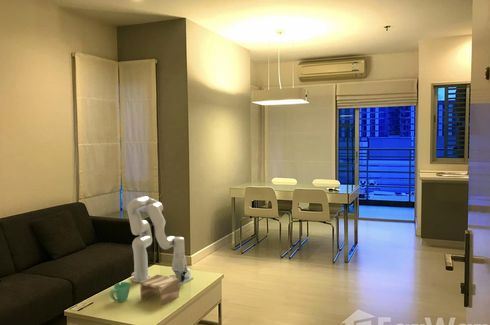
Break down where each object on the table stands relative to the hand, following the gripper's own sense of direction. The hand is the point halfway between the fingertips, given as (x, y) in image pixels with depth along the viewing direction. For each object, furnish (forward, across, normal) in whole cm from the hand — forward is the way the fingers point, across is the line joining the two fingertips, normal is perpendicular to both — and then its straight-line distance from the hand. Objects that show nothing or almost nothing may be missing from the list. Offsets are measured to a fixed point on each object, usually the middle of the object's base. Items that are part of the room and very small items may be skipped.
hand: (180, 279), depth 287 cm
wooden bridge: (+2, +6, -28) cm, 29 cm away
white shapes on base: (+2, 0, 0) cm, 2 cm away
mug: (+2, -13, -44) cm, 46 cm away
